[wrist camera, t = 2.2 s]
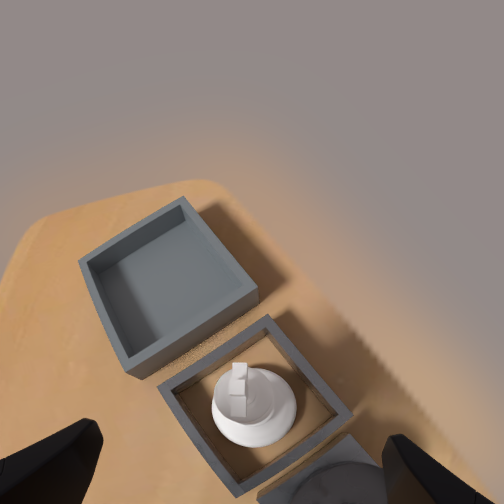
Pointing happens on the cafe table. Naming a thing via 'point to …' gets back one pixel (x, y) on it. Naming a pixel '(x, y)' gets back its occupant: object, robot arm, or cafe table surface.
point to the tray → (165, 287)
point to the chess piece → (253, 406)
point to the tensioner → (313, 469)
